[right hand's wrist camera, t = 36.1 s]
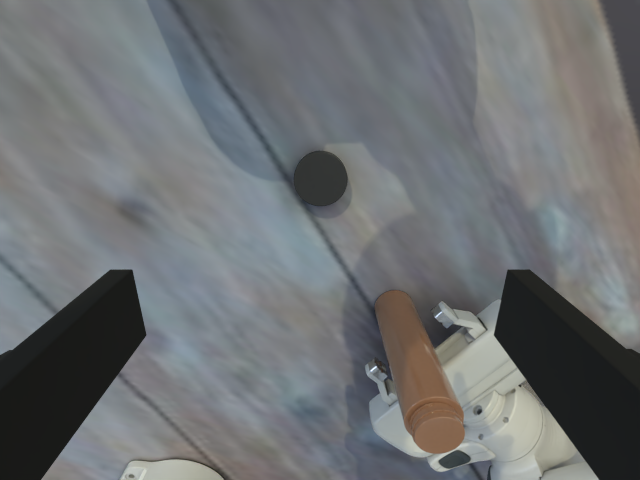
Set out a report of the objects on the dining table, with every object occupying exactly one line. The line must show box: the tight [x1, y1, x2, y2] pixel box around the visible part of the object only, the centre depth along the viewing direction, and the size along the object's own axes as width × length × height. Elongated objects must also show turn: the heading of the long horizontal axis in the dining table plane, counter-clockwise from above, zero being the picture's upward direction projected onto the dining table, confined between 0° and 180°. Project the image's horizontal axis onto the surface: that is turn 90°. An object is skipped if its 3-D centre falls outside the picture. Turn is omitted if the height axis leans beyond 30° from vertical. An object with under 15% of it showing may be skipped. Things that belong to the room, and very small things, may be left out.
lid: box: [294, 151, 347, 206], centre depth 37 cm, size 5×5×2 cm
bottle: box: [374, 290, 465, 454], centre depth 35 cm, size 5×5×18 cm
